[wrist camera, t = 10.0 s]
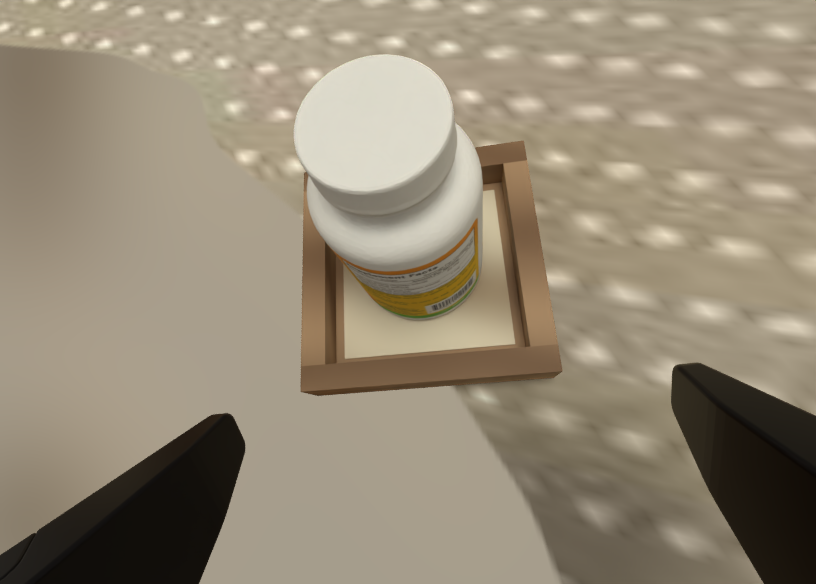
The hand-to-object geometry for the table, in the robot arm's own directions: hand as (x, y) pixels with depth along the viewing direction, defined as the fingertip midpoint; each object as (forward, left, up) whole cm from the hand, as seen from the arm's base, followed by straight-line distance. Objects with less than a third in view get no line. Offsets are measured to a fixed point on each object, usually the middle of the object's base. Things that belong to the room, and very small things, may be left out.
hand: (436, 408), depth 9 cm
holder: (+3, +6, -10) cm, 12 cm away
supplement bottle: (+3, +6, -9) cm, 12 cm away
